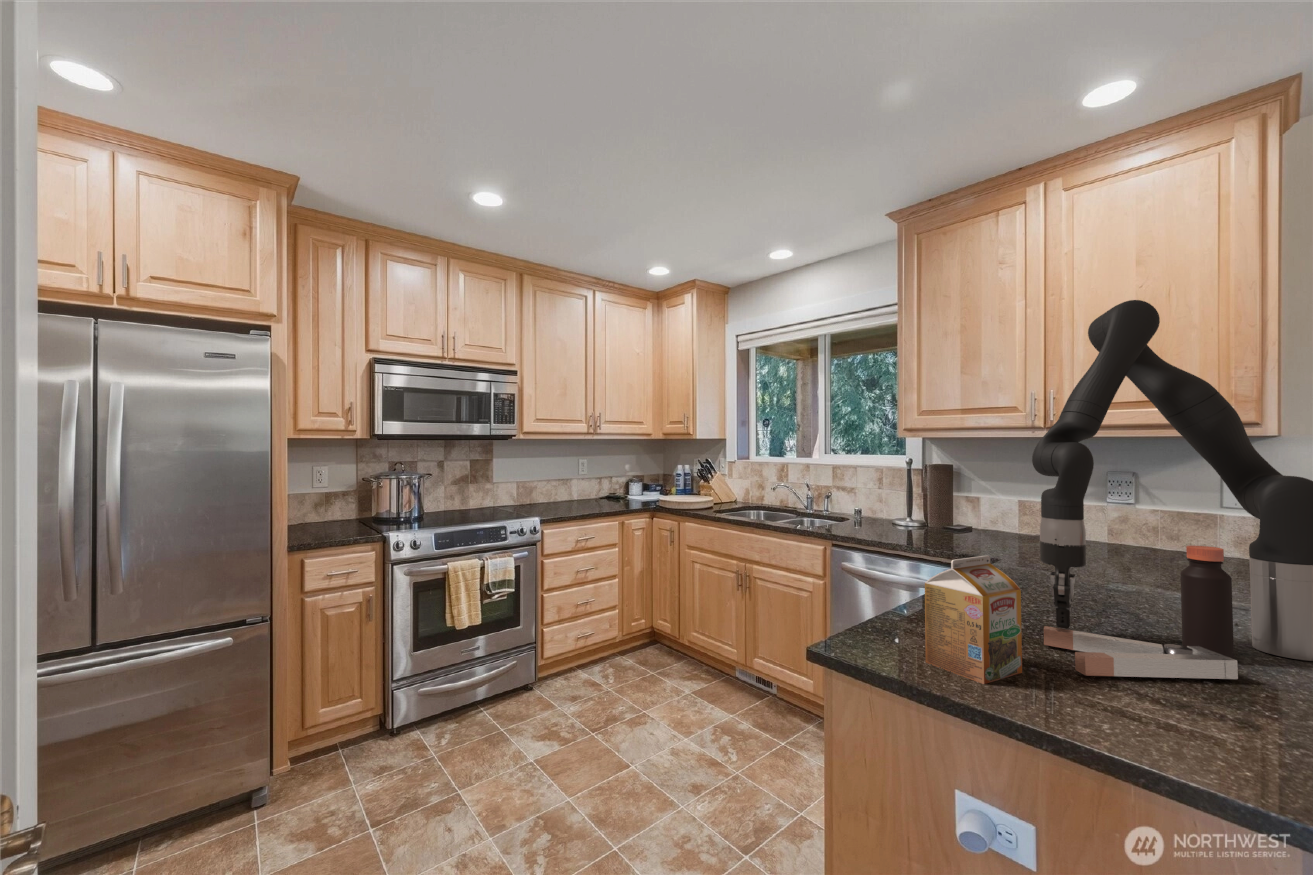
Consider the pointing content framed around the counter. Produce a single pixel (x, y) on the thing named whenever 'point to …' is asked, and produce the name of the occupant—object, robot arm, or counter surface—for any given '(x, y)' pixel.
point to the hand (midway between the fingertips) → (1063, 626)
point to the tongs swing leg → (1106, 643)
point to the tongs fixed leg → (1158, 664)
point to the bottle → (1207, 601)
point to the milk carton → (974, 621)
